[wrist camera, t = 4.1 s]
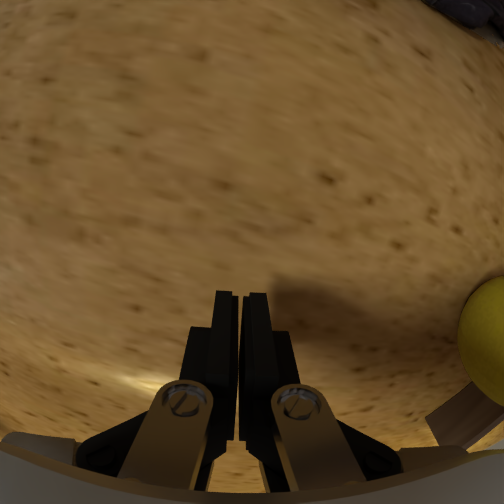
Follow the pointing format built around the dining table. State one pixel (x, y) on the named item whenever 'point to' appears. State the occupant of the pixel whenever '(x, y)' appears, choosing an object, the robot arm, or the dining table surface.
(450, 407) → the corral
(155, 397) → the robot arm
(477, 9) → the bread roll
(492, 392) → the lemon
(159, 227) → the dining table surface
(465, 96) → the dining table surface
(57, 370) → the dining table surface
